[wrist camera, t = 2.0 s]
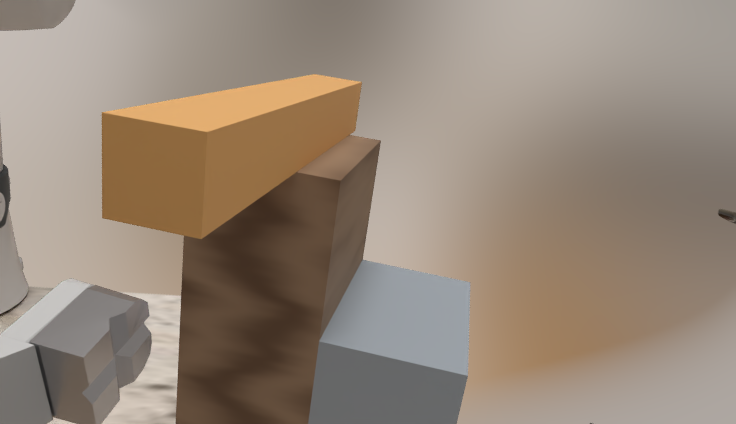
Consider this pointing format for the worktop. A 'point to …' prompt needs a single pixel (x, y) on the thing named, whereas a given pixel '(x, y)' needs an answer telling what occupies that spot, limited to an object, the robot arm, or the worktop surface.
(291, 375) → the walnut stand
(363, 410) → the slate block
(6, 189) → the robot arm
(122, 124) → the orange block
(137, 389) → the worktop surface
